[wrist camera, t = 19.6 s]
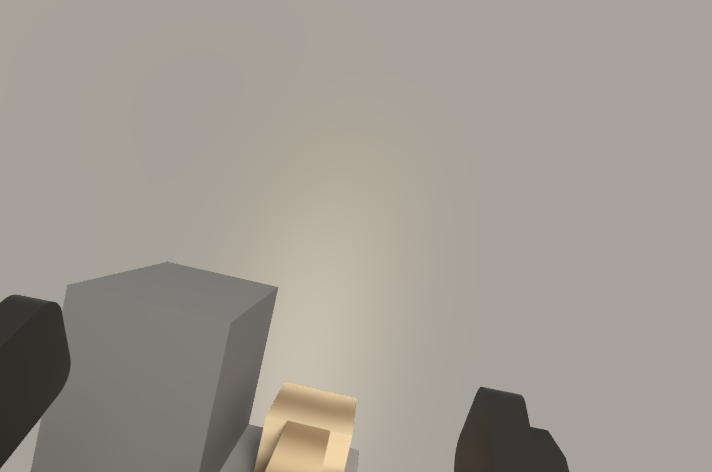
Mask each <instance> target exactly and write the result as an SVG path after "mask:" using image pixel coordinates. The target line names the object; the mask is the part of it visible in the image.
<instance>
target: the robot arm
mask: <svg viewBox="0 0 712 472" xmlns="http://www.w3.org/2000/svg"><path fill="white" fill-rule="evenodd" d="M70 367H71V359H70V353H69V348H68V342H67V337H66V331H65V326H64V321H63V315H62V311H61V308H60V306H59V305H58V304H57V303H56V302H50V301H46V300H41V299H36V298H30V297H26V296H21V295H11V296H9V297H7V298H6V299H4V300H3V301H2V302H1V303H0V468H1V467H2V466H3V464H4V463H5V462H6V461H7V459H8V458H9V457H10V456H11V454H12V453H13V452H14V451H15V449H16V448H17V447H18V446H19V444H20V443H21V442H22V440H23V439H24V438H25V437H26V435H27V434H28V433H29V432H30V430H31V429H32V428H33V427H34V425H35V424H36V423H37V422H38V420H39V419H40V418H41V416H42V415H43V414H44V413H45V411H46V410H47V409H48V408H49V406H50V405H51V404H52V403H53V401H54V400H55V399H56V398H57V396H58V395H59V394H60V392H61V391H62V389H63V388H64V386H65V384H66V381H67V379H68V376H69V372H70ZM454 472H569V469H568V465H567V461H566V458H565V456H564V455H563V453H562V452H561V450H560V448H559V447H558V445H557V444H556V442H555V441H554V439H553V438H552V436H551V435H550V433H549V432H548V431H547V430H543V429H538V428H533V427H530V424H529V419H528V414H527V409H526V404H525V401H524V398H523V397H522V395H519V394H514V393H509V392H504V391H499V390H494V389H489V388H484V387H480V388H479V390H478V391H477V393H476V396H475V399H474V401H473V404H472V406H471V409H470V411H469V414H468V416H467V419H466V421H465V424H464V427H463V429H462V432H461V434H460V437H459V440H458V443H457V448H456V454H455V464H454Z"/></svg>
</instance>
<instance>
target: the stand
mask: <svg viewBox="0 0 712 472" xmlns="http://www.w3.org/2000/svg"><path fill="white" fill-rule="evenodd" d="M277 290H278V287H275V286H270V285H266V284H262V283H258V282H253V281H249V280H244V279H240V278H236V277H231V276H226V275H223V274H218V273H214V272H209V271H205V270H200V269H196V268H192V267H187V266H183V265H179V264H174V263H170V262H165V263H161V264H157V265H152V266H148V267H144V268H139V269H135V270H131V271H126V272H122V273H118V274H113V275H109V276H105V277H101V278H96V279H92V280H87V281H83V282H79V283H75V284H70V285H67V290H66V295H65V300H64V306H63V311H62V315H63V321H64V326H65V331H66V337H67V342H68V348H69V353H70V359H71V367H70V372H69V376H68V379H67V381H66V384H65V386H64V388H63V389H62V391H61V392H60V394H59V395H58V396H57V398H56V399H55V400H54V401H53V403H52V404H51V405H50V406H49V408H48V409H47V410H46V411H45V413H44V414H43V415H42V418H41V423H40V428H39V433H38V438H37V443H36V448H35V453H34V458H33V463H32V468H31V472H254V469H255V464H256V460H257V455H258V450H259V446H260V441H261V437H262V432H263V428H262V427H257V426H253V425H249V420H250V414H251V411H252V406H253V401H254V397H255V392H256V387H257V383H258V378H259V374H260V369H261V364H262V360H263V354H264V350H265V346H266V341H267V337H268V332H269V327H270V323H271V318H272V314H273V309H274V304H275V299H276V294H277ZM358 455H359V450H355V449H351V448H349V452H348V457H347V461H346V466H345V470H344V472H357V468H358Z"/></svg>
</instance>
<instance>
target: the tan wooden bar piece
mask: <svg viewBox="0 0 712 472" xmlns="http://www.w3.org/2000/svg"><path fill="white" fill-rule="evenodd" d="M356 400H357V399H356V398H352V397H348V396H344V395H339V394H335V393H330V392H327V391H322V390H318V389H313V388H310V387H305V386H301V385H297V384H293V383H288V382H285V383H284V384H283V386H282V388H281V390H280V391H279V393H278V395H277V397H276V399H275V400H274V402H273V404H272V406H271V408H270V409H269V411H268V413H267V415H266V418H265V423H264V427H263V432H262V437H261V441H260V446H259V450H258V455H257V460H256V464H255V469H254V472H344V470H345V466H346V461H347V457H348V452H349V448H350V443H351V439H352V434H353V425H354V416H355V408H356Z"/></svg>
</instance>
